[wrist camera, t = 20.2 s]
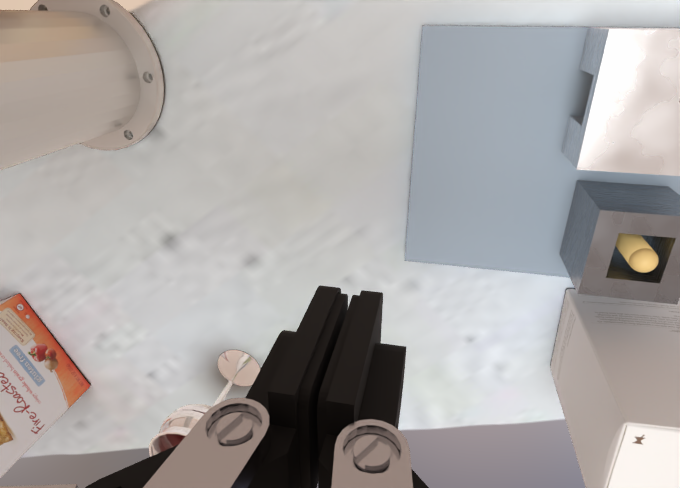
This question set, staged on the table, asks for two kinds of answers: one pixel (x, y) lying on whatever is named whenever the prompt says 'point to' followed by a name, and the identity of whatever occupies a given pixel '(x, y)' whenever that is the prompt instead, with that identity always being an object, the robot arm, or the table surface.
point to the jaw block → (602, 232)
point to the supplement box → (620, 389)
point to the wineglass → (181, 421)
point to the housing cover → (629, 103)
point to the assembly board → (502, 150)
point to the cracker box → (31, 380)
